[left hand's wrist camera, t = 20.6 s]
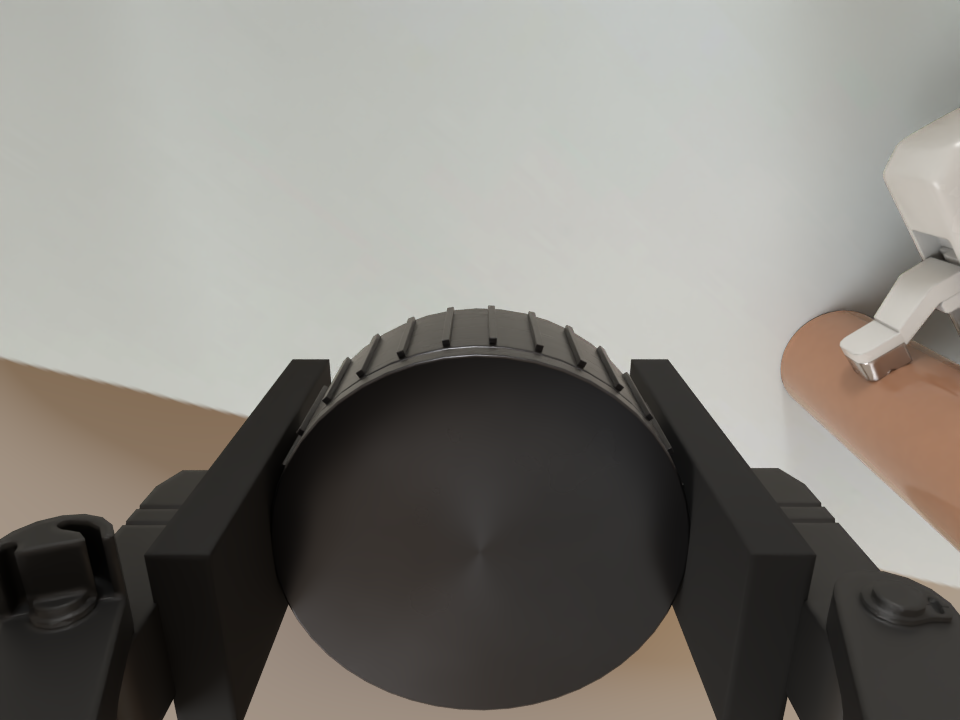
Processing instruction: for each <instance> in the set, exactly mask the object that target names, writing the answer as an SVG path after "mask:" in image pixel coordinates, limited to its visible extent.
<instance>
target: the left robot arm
mask: <svg viewBox="0 0 960 720" xmlns="http://www.w3.org/2000/svg"><path fill="white" fill-rule="evenodd" d="M630 377H631V379H632V380H633V382H634V384H635V386H636V387H637V389H638V391H639V393H640V395H641V396H642V398H643V400H644V402H646V403H647V405H648V407H649V408H650V410H651V412H652V414H653V415H654V417H655V419H656V421H657V423H658V424H659V426H660V428H661V430H662V431H663V433H664V435H665V437H666V438H667V440H668V442H669V444H670V445H671V447H672V449H673V451H674V453H673V454H670V456H671V458H672V461H673V463H674V465H675V467H676V469H677V471H678V473H679V475H680V478H681V480H682V482H683V483H684V491H685V495H686V498H687V503H688V510H689V518H690V539H689V548H688V555H687V563H686V570H685V573H684V576H683V579H682V582H681V585H680V588H679V591H678V594H677V596H676V598H675V600H674V602H673V603H672V606H673V608H674V611H675V613H676V616H677V618H678V621H679V624H680V626H681V629H682V631H683V634H684V636H685V639H686V642H687V644H688V646H689V649H690V652H691V654H692V657H693V659H694V662H695V665H696V667H697V670H698V672H699V675H700V677H701V680H702V682H703V685H704V688H705V690H706V693H707V695H708V698H709V701H710V703H711V706H712V708H713V711H714V713H715V716H716V718H717V720H783V716H784V711H785V707H786V702H787V697H788V698H789V700H790V702H791V704H792V706H793V708H794V710H795V711H796V713H797V715H798V717H799V719H800V720H960V615H959V613H958V612H957V611H956V610H955V608H954V607H953V606H952V605H951V603H950V602H948V601H947V600H945V599H944V598H943V597H941V596H940V595H939V594H937V593H936V592H935V591H933V590H932V589H930V588H928V587H926V586H924V585H922V584H919V583H917V582H915V581H913V580H911V579H909V578H906V577H902V576H899V575H895V574H891V573H888V572H884V571H880V570H879V569H878V568H877V566H876V565H875V564H874V563H873V562H872V561H871V560H870V558H869V557H868V556H867V555H866V554H865V553H864V552H863V550H862V549H861V548H860V547H859V546H858V545H857V544H856V542H855V541H854V540H853V539H852V538H851V537H850V536H849V534H848V533H847V532H846V531H845V530H844V529H843V528H842V526H841V525H840V524H839V523H835V518H834V517H833V516H832V515H831V514H830V513H829V511H828V510H827V509H826V508H825V507H821V502H820V501H819V500H818V499H817V498H816V497H815V495H814V494H813V493H812V492H811V491H810V490H809V489H808V487H807V486H806V485H805V484H803V483H802V482H800V481H799V480H797V479H795V478H794V477H792V476H790V475H789V474H787V473H785V472H784V471H782V470H780V469H779V468H750V467H749V465H748V464H747V463H746V462H745V460H744V459H743V458H742V456H741V455H740V454H739V452H738V451H737V450H736V448H735V447H734V446H733V444H732V443H731V442H730V440H729V439H728V438H727V437H726V435H725V434H724V433H723V431H722V430H721V429H720V427H719V426H718V425H717V423H716V422H715V421H714V419H713V418H712V417H711V416H710V414H709V413H708V412H707V410H706V409H705V408H704V406H703V405H702V404H701V402H700V401H699V400H698V398H697V397H696V396H695V394H694V393H693V392H692V391H691V389H690V388H689V387H688V385H687V384H686V383H685V381H684V380H683V379H682V377H681V376H680V375H679V373H678V372H677V371H676V369H675V368H674V367H673V366H672V364H671V363H670V362H669V360H668V359H631V369H630ZM324 385H325V386H327V387H328V388H329V386H330V385H331V376H330V364H329V359H293V360H292V361H291V362H290V363H289V365H288V366H287V367H286V369H285V370H284V371H283V373H282V374H281V375H280V377H279V378H278V379H277V381H276V382H275V383H274V385H273V386H272V387H271V388H270V390H269V391H268V392H267V394H266V395H265V396H264V398H263V399H262V400H261V402H260V403H259V404H258V406H257V407H256V408H255V410H254V411H253V412H252V413H251V415H250V416H249V417H248V419H247V420H246V421H245V423H244V424H243V425H242V427H241V428H240V429H239V431H238V432H237V433H236V435H235V436H234V437H233V438H232V440H231V441H230V442H229V444H228V445H227V446H226V448H225V449H224V450H223V452H222V453H221V454H220V456H219V457H218V458H217V460H216V461H215V462H214V463H213V465H212V466H211V467H210V469H209V470H183V471H181V472H179V473H178V474H176V475H174V476H173V477H171V478H169V479H168V480H166V481H164V482H163V483H161V484H160V485H158V486H156V487H155V488H154V490H153V491H152V492H151V493H150V494H149V495H148V497H147V498H146V499H145V500H144V501H143V502H142V504H141V505H140V509H136V510H135V512H134V513H133V514H132V515H131V516H130V517H129V518H128V520H127V521H126V525H123V526H122V527H121V528H120V529H119V530H118V531H117V532H116V533H115V534H114V530H113V525H112V524H111V523H109V522H108V521H107V520H105V519H104V518H103V517H98V516H92V515H87V514H78V515H62V516H58V517H54V518H50V519H45V520H41V521H37V522H35V523H32V524H30V525H27V526H25V527H22V528H20V529H17V530H15V531H13V532H11V533H9V534H8V535H6V536H5V537H3V538H1V539H0V720H163V718H164V716H165V714H166V712H167V710H168V708H169V706H170V704H171V702H172V701H173V700H174V704H175V709H176V714H177V719H178V720H244V717H245V714H246V712H247V709H248V707H249V704H250V702H251V699H252V697H253V694H254V691H255V689H256V686H257V684H258V681H259V678H260V676H261V673H262V671H263V668H264V666H265V663H266V661H267V658H268V655H269V653H270V650H271V648H272V645H273V643H274V640H275V637H276V635H277V632H278V630H279V627H280V625H281V622H282V620H283V617H284V614H285V612H286V609H287V607H288V602H287V601H286V599H285V596H284V594H283V591H282V589H281V586H280V584H279V581H278V578H277V575H276V570H275V565H274V558H273V550H272V542H271V533H270V526H271V514H272V505H273V501H274V497H275V493H276V489H277V485H278V482H279V480H280V477H281V475H282V472H283V470H281V466H282V463H283V461H284V460H285V458H286V456H287V454H288V453H289V451H290V449H291V447H292V446H293V444H294V442H295V440H296V439H297V437H298V434H297V431H298V430H299V428H300V426H301V424H302V423H303V421H304V419H305V417H306V416H307V414H308V412H309V410H310V409H311V407H312V405H313V404H314V402H315V400H316V398H317V397H318V395H319V393H320V391H321V390H322V388H323V386H324Z"/></svg>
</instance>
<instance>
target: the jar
mask: <svg viewBox="0 0 960 720" xmlns="http://www.w3.org/2000/svg"><path fill="white" fill-rule="evenodd" d="M873 320H874V319H872V318H871V317H869V316H867V315H865V314H862V313H859V312H854V311H835V312H830V313H826V314H823V315H821V316H818V317H816V318H814V319H812V320H811V321H809V322H808V323H806V324H805V325H804V326H802V327H801V328H800V329H799V330H798V331H797V332H796V333H795V334H794V336H793V337H792V338H791V340H790V341H789V343H788V344H787V346H786V348H785V351H784V354H783V357H782V361H781V377H782V382H783V384H784V387H785V389H786V390H787V392H788V393H789V395H790V396H791V397H792V398H793V399H794V400H795V401H796V402H797V403H798V404H800V405H801V406H802V407H803V408H804V409H805V410H806V411H807V412H808V413H809V414H810V415H811V416H813V417H814V418H815V419H816V420H817V421H818V422H819V423H820V424H821V425H822V426H823V427H824V428H826V429H827V430H828V431H829V432H830V433H831V434H832V435H833V436H834V437H835V438H836V439H837V440H839V441H840V442H841V443H842V444H843V445H844V446H845V447H846V448H847V449H848V450H849V451H851V452H852V453H853V454H854V455H855V456H856V457H857V458H858V459H859V460H860V461H861V462H862V463H864V464H865V465H866V466H867V467H868V468H869V469H870V470H871V471H872V472H873V473H874V474H875V475H877V476H878V477H879V478H880V479H881V480H882V481H883V482H884V483H885V484H886V485H887V486H888V487H890V488H891V489H892V490H893V491H894V492H895V493H896V494H897V495H898V496H899V497H900V498H902V499H903V500H904V501H905V502H906V503H907V504H908V505H909V506H910V507H911V508H912V509H913V510H915V511H916V512H917V513H918V514H919V515H920V516H921V517H922V518H923V519H924V520H925V521H926V522H928V523H929V524H930V525H931V526H932V527H933V528H934V529H935V530H936V531H937V532H938V533H939V534H941V535H942V536H943V537H944V538H945V539H946V540H947V541H948V542H949V543H950V544H951V545H952V546H954V547H955V548H956V549H957V550H958V551H959V552H960V365H959V364H957V363H955V362H953V361H951V360H949V359H948V358H946V357H944V356H942V355H940V354H938V353H936V352H934V351H933V350H931V349H929V348H927V347H925V346H923V345H921V344H919V343H918V342H916V341H914V340H912V339H911V340H910V341H909V343H908V344H907V345H906V344H905V345H906V347H907V349H908V351H909V353H910V355H911V357H912V360H913V361H912V362H910V363H908V364H907V365H905V366H903V367H901V368H899V369H897V370H891V371H890V372H889V374H888V375H887V376H885V377H884V378H882V379H880V380H876V381H867V380H866V379H864V378H863V377H862V376H861V375H860V374H857V373H856V372H855V371H854V370H853V368H852V367H851V365H850V363H849V361H848V360H847V358H846V356H845V354H844V353H843V351H842V349H841V347H840V342H841V341H842V340H843V339H844V338H845V337H846V336H848V335H850V334H851V333H853V332H855V331H856V330H858V329H860V328H861V327H863V326H865V325H866V324H868V323H870V322H871V321H873Z"/></svg>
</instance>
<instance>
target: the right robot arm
mask: <svg viewBox="0 0 960 720" xmlns="http://www.w3.org/2000/svg"><path fill="white" fill-rule="evenodd" d="M883 178H884V181H885V183H886V186H887V188H888V190H889V192H890V194H891V196H892V198H893V200H894V202H895V204H896V206H897V208H898V210H899V212H900V214H901V216H902V218H903V220H904V222H905V225H906V227H907V229H908V231H909V233H910V235H911V237H912V239H913V241H914V243H915V245H916V247H917V249H918V251H919V253H920V255H921V257H922V259H923V261H922V262H920V263H919V264H917V265H915V266H914V267H912V268H911V269H909V270H907V271H906V272H904V273H902V274H901V275H900V276H899V277H898V279H897V280H896V282H895V284H894V285H893V287H892V288H891V290H890V292H889V293H888V295H887V296H886V298H885V300H884V301H883V303H882V304H881V306H880V308H879V309H878V311H877V312H876V314H875V316H874V319H875V320H873V321H871V322H870V323H868V324H866V325H865V326H863V327H861V328H860V329H858V330H856V331H855V332H853V333H851V334H850V335H848V336H846V337H845V338H844V339H843V340H842V341H841V342H840V347H841V349H842V351H843V353H844V354H845V356H846V358H847V360H848V361H849V363H850V365H851V367H852V368H853V370H854V371H855V372H856V373H857V374H860V375H861V376H862V377H863V378H864V379H866V380H867V381H876V380H880V379H882V378H884V377H885V376H887V375H888V374H889V372H890V371H891V370H897V369H899V368H901V367H903V366H905V365H907V364H908V363H910V362H912V361H913V360H912V357H911V355H910V353H909V351H908V349H907V347H906V345H907V344H908V343H909V341H910V340H911V339H912V338H913V336H914V335H915V334H916V333H917V331H918V330H919V329H920V327H921V326H922V325H923V324H924V322H925V321H926V320H927V319H928V317H929V316H930V315H931V313H932V312H933V311H934V310H935V309H937V310H940V311H942V312H944V313H949V315H950V317H951V319H952V321H953V323H954V325H955V327H956V329H957V331H958V334H959V336H960V108H958V109H956V110H954V111H952V112H950V113H948V114H946V115H944V116H943V117H941V118H939V119H937V120H935V121H933V122H931V123H930V124H928V125H926V126H925V127H923V128H921V129H919V130H918V131H916V132H914V133H913V134H911V135H909V136H908V137H906V138H905V139H903V140H902V141H901V142H899V143H898V144H897V146H896V147H895V149H894V151H893V153H892V155H891V157H890V159H889V161H888V163H887V165H886V167H885V169H884V172H883ZM905 344H906V345H905Z"/></svg>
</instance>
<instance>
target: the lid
mask: <svg viewBox="0 0 960 720" xmlns="http://www.w3.org/2000/svg"><path fill="white" fill-rule="evenodd" d="M297 434H298V437H297V439H296V440H295V442H294V444H293V446H292V447H291V449H290V451H289V453H288V454H287V456H286V458H285V460H284V461H283V463H282V466H281V470H283V472H282V475H281V477H280V480H279V482H278V485H277V489H276V493H275V497H274V501H273V505H272V514H271V526H270V533H271V542H272V550H273V558H274V565H275V570H276V575H277V578H278V581H279V584H280V586H281V589H282V591H283V594H284V596H285V599H286V601H287V602H288V604H289V606H290V608H291V610H292V611H293V613H294V615H295V616H296V618H297V620H298V621H299V623H300V624H301V625H302V626H303V628H304V629H305V630H306V632H307V633H308V634H309V636H310V637H311V638H312V639H313V640H314V641H315V642H316V643H317V644H318V645H319V646H320V647H321V648H322V649H323V650H324V651H325V652H326V653H327V654H328V655H329V656H330V657H332V658H333V659H334V660H335V661H336V662H338V663H339V664H340V665H341V666H343V667H344V668H345V669H347V670H348V671H350V672H351V673H353V674H355V675H356V676H358V677H359V678H361V679H363V680H364V681H366V682H368V683H370V684H372V685H374V686H376V687H378V688H380V689H382V690H385V691H387V692H389V693H392V694H395V695H397V696H400V697H403V698H406V699H409V700H412V701H416V702H420V703H424V704H428V705H433V706H438V707H445V708H453V709H462V710H496V709H510V708H516V707H522V706H528V705H533V704H537V703H541V702H544V701H548V700H552V699H556V698H558V697H561V696H564V695H566V694H569V693H571V692H574V691H576V690H579V689H581V688H583V687H585V686H587V685H589V684H591V683H593V682H595V681H596V680H598V679H600V678H602V677H603V676H605V675H606V674H608V673H609V672H611V671H612V670H614V669H615V668H617V667H618V666H620V665H621V664H622V663H623V662H625V661H626V660H627V659H628V658H629V657H630V656H632V655H633V654H634V653H635V652H636V651H637V650H639V648H640V647H641V646H642V645H643V644H644V643H645V642H646V641H647V640H648V639H649V637H650V636H651V635H652V634H653V633H654V632H655V630H656V629H657V628H658V626H659V625H660V623H661V622H662V620H663V619H664V618H665V616H666V615H667V613H668V611H669V609H670V607H671V605H672V603H673V602H674V600H675V598H676V596H677V594H678V591H679V588H680V585H681V582H682V579H683V576H684V573H685V570H686V563H687V555H688V548H689V539H690V518H689V510H688V503H687V498H686V495H685V491H684V483H683V482H682V480H681V478H680V475H679V473H678V471H677V469H676V467H675V465H674V463H673V461H672V458H671V456H670V454H673V453H674V451H673V449H672V447H671V445H670V444H669V442H668V440H667V438H666V437H665V435H664V433H663V431H662V430H661V428H660V426H659V424H658V423H657V421H656V419H655V417H654V415H653V414H652V412H651V410H650V408H649V407H648V405H647V403H646V402H644V400H643V398H642V396H641V395H640V393H639V391H638V389H637V387H636V386H635V384H634V382H633V380H632V379H631V377H630V375H629V374H628V373H627V372H626V373H624V374H622V373H621V372H620V370H619V369H618V368H617V367H616V366H615V365H614V364H613V363H612V362H611V360H610V359H609V357H608V355H607V353H606V352H605V350H604V348H602V347H601V346H599V347H598V348H596V347H594V346H593V345H592V344H591V343H589V342H588V341H586V340H585V339H583V338H581V337H580V336H578V335H577V334H575V333H574V331H573V329H572V327H570V326H568V325H566V327H565V328H563V327H561V326H559V325H557V324H555V323H552V322H550V321H548V320H544V319H541V318H538V317H536V315H535V313H534V312H530V311H529V312H528V314H524V313H518V312H513V311H507V310H500V309H495V306H488V309H477V308H476V309H464V310H454V307H451V308H447V312H442V313H438V314H433V315H428V316H425V317H422V318H420V319H417V320H415V318H414V317H411V318H409V319H408V321H407V323H405V324H403V325H401V326H399V327H397V328H395V329H393V330H391V331H389V332H387V333H385V334H383V335H382V336H380V335H379V334H376V335H375V336H373V338H372V340H371V342H370V344H369V345H367V346H366V347H365V348H363V349H362V350H361V351H360V352H359V353H358V354H357V355H356V356H355V357H353V358H352V359H350V358H349V357H347V358H346V359H345V360H344V361H343V363H342V365H341V367H340V369H339V370H338V372H337V374H336V376H335V378H334V379H333V381H332V383H331V385H330V386H329V388H328V387H327V386H325V385H324V386H323V388H322V390H321V391H320V393H319V395H318V397H317V398H316V400H315V402H314V404H313V405H312V407H311V409H310V410H309V412H308V414H307V416H306V417H305V419H304V421H303V423H302V424H301V426H300V428H299V430H298V431H297Z"/></svg>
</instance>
